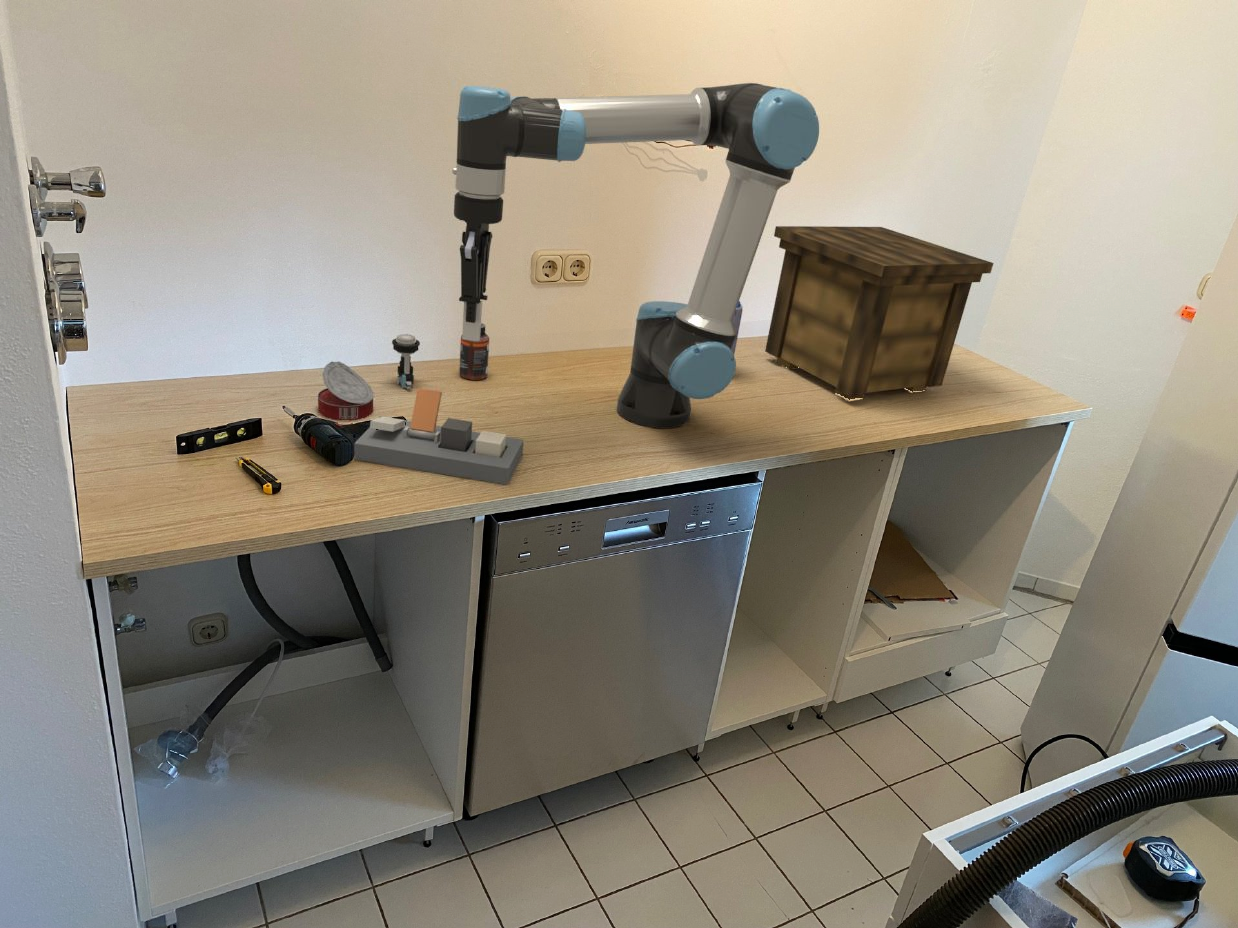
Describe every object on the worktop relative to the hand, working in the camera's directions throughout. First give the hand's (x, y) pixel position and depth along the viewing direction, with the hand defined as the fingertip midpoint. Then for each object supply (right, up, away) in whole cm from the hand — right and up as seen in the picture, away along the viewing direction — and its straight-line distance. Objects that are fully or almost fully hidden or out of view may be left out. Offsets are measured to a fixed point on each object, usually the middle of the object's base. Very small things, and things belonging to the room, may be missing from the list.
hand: (471, 338), depth 151 cm
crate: (+81, 0, +72) cm, 108 cm away
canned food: (-26, -11, +18) cm, 34 cm away
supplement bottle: (-6, -2, +41) cm, 42 cm away
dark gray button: (-3, -18, +4) cm, 18 cm away
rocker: (-15, -14, +4) cm, 21 cm away
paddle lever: (-9, -16, +4) cm, 18 cm away
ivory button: (+3, -20, +4) cm, 20 cm away
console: (-6, -20, +5) cm, 21 cm away
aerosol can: (+47, 0, +61) cm, 77 cm away
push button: (-18, -5, +32) cm, 37 cm away
